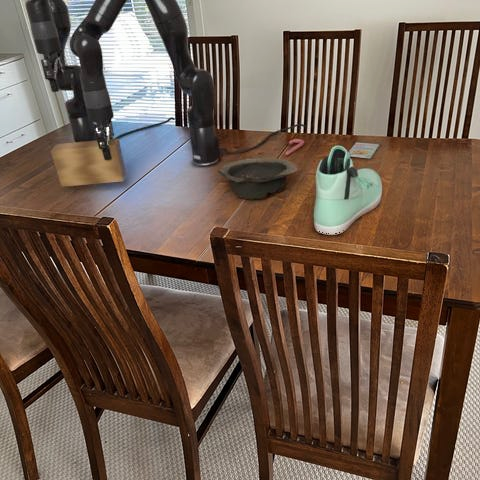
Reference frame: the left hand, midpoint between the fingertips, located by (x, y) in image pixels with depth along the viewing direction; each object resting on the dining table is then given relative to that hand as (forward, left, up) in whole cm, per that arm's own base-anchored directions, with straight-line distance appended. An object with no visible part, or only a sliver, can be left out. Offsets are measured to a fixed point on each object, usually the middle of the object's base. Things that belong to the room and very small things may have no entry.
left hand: (59, 88), depth 160 cm
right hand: (+1, +24, -18) cm, 30 cm away
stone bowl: (-27, +62, -31) cm, 75 cm away
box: (+6, +19, -26) cm, 33 cm away
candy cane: (-60, +51, -31) cm, 85 cm away
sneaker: (-31, +93, -31) cm, 103 cm away
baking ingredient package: (-72, +74, -31) cm, 108 cm away
